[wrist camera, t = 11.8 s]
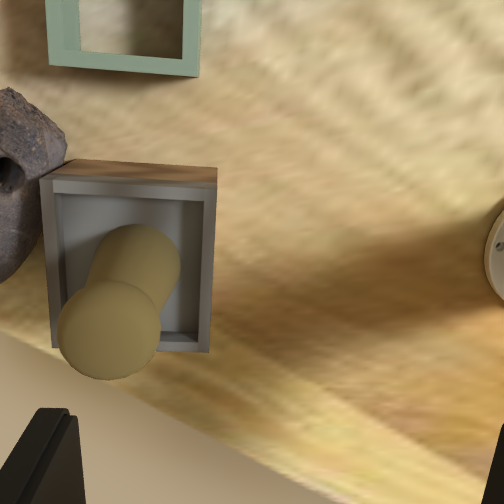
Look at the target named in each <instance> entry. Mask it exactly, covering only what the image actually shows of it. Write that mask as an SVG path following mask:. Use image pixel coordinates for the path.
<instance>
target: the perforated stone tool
mask: <svg viewBox="0 0 504 504" xmlns="http://www.w3.org/2000/svg"><path fill="white" fill-rule="evenodd" d="M66 149H67V143H66V141H65V134H64V133H63V132H62V131H61V130H60V129H59V128H58V127H57V125H56V123H54V122H52V121H51V120H50V119H49V118H48V117H47V116H46V115H45V114H43V113H42V112H41V111H40V110H39V109H38V108H37V107H35V106H34V105H32V104H30V103H28V102H27V101H26V99H25V98H24V97H23V96H22V95H21V94H20V93H18V92H16V91H14V90H13V89H11V88H10V87H8V88H6V89H2V90H0V283H3V282H4V281H5V280H7V279H8V278H9V277H10V276H12V275H13V274H14V273H15V271H16V270H17V269H18V268H19V267H20V266H21V264H22V263H23V262H24V261H25V259H26V258H27V257H28V255H29V254H30V252H31V251H32V249H33V248H34V246H35V244H36V242H37V240H38V237H39V235H40V233H41V231H42V228H43V221H42V208H41V195H40V182H39V179H41V178H42V177H44V176H46V175H48V174H50V173H51V172H53V171H55V170H57V169H59V168H60V167H61V166H62V164H63V162H64V157H65V154H66Z"/></svg>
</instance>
